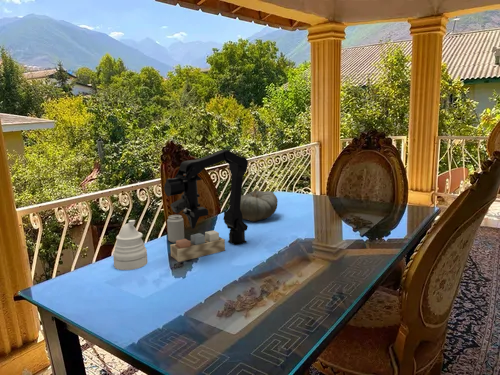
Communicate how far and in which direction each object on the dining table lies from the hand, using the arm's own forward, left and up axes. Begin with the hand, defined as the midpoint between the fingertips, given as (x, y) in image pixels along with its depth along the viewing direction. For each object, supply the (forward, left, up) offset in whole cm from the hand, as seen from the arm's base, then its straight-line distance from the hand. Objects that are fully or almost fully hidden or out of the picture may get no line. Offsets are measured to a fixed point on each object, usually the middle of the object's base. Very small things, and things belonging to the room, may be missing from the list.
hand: (192, 228), depth 159 cm
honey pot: (+25, -6, -12) cm, 28 cm away
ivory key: (-9, 0, -8) cm, 12 cm away
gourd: (-53, -30, -12) cm, 62 cm away
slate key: (-2, 0, -8) cm, 9 cm away
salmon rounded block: (+5, 0, -10) cm, 11 cm away
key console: (-2, 0, -12) cm, 12 cm away
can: (-1, -21, -12) cm, 24 cm away
